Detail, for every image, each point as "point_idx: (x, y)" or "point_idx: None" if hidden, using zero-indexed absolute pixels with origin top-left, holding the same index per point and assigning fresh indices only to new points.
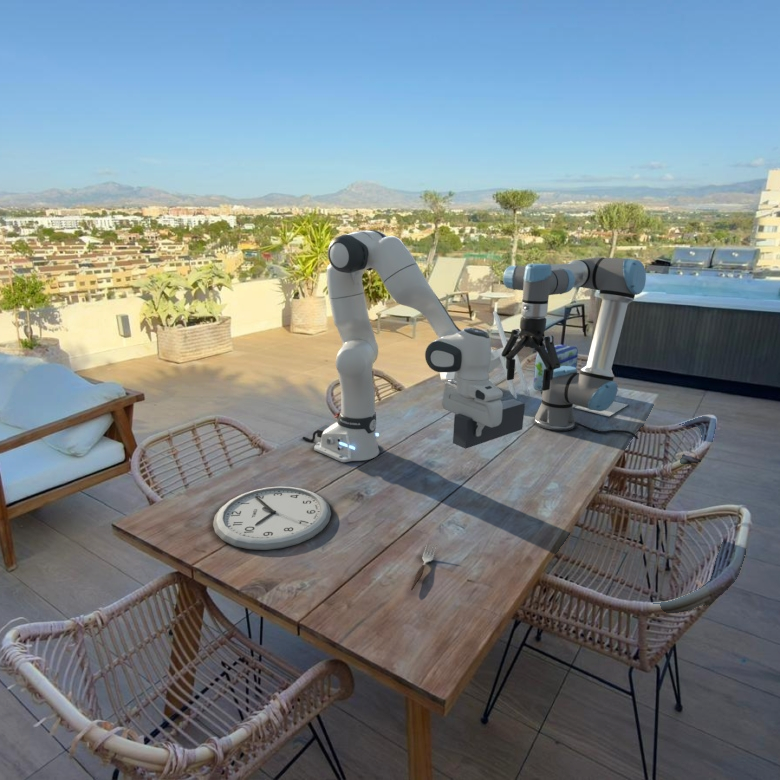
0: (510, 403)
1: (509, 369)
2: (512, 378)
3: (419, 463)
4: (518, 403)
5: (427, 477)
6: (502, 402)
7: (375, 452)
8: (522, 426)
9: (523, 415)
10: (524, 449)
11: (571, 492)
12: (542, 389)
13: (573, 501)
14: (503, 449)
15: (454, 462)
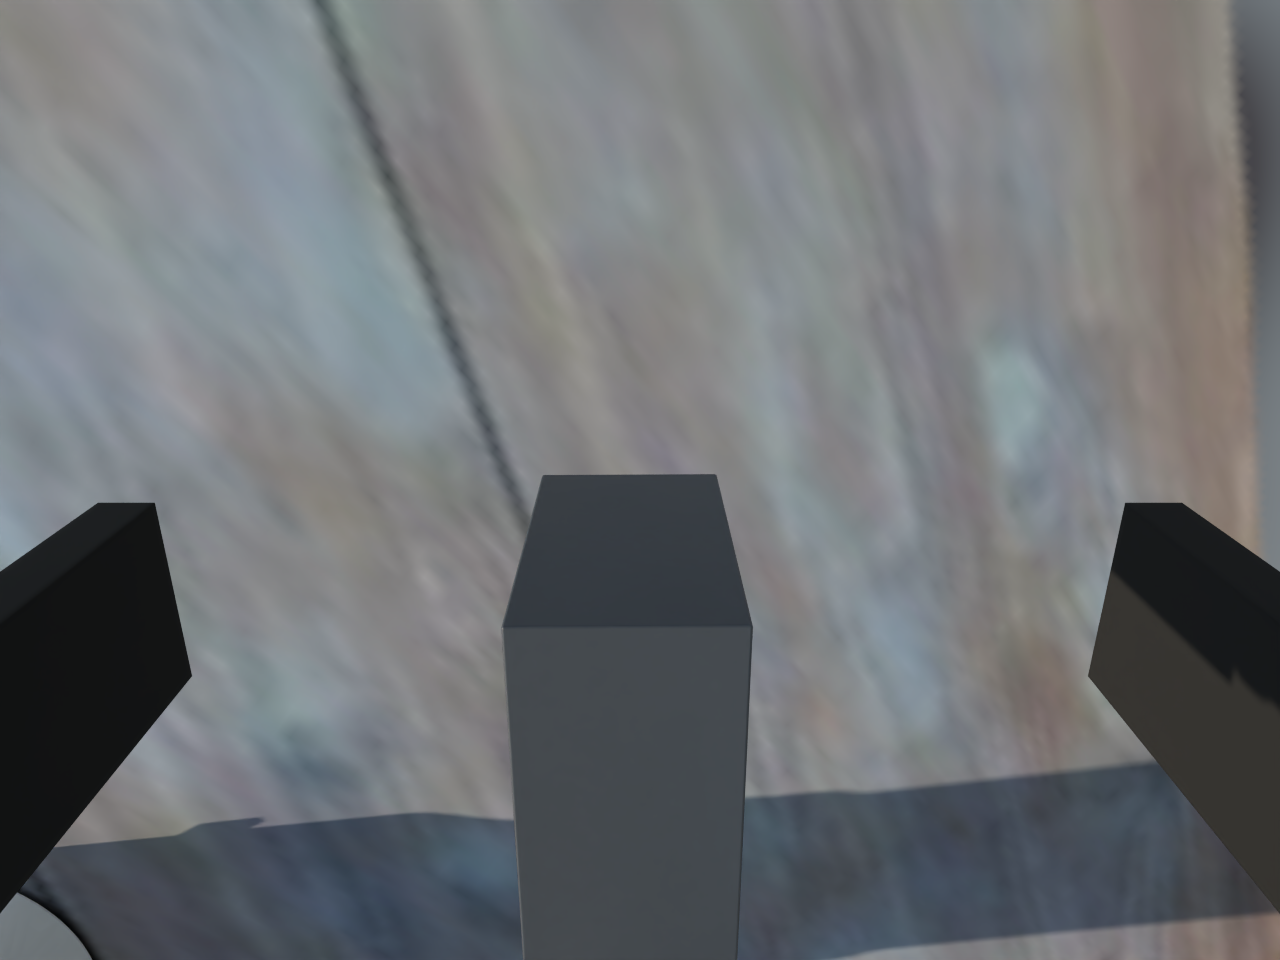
0: (638, 792)
1: (35, 861)
2: (157, 562)
3: (276, 809)
4: (704, 710)
5: (454, 877)
6: (544, 838)
7: (57, 957)
8: (719, 488)
9: (733, 548)
10: (484, 16)
11: (1151, 380)
12: (1110, 689)
13: (1209, 471)
14: (385, 183)
15: (376, 647)
